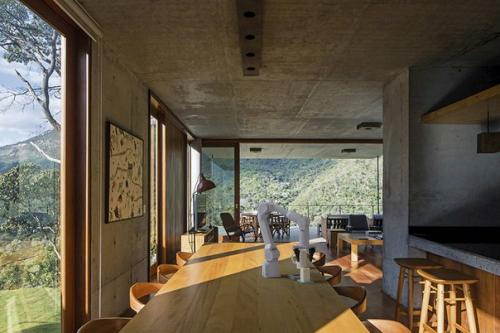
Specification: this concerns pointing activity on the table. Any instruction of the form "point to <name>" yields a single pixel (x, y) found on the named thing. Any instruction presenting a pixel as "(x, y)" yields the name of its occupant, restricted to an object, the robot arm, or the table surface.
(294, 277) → the grey square frame
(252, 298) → the table surface
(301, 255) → the mug
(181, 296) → the table surface
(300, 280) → the mat
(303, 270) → the plug
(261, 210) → the robot arm
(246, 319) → the table surface
